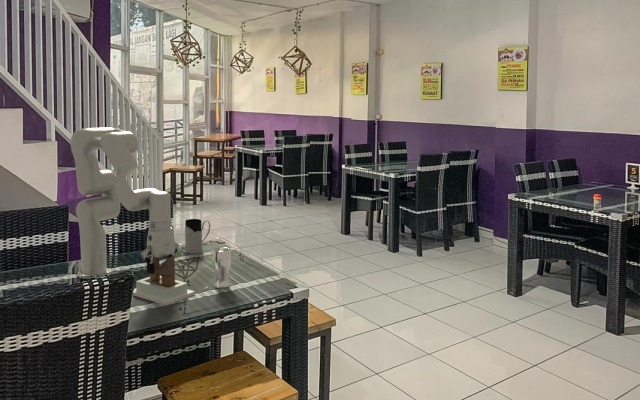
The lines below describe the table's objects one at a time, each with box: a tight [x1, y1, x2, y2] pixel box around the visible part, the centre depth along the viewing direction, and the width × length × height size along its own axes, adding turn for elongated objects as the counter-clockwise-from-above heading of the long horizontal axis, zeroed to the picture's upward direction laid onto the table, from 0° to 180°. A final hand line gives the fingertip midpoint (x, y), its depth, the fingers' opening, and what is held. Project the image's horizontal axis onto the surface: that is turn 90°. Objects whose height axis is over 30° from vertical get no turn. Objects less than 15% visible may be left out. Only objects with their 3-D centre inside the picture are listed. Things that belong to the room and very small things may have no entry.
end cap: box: [132, 275, 196, 306], centre depth 204 cm, size 20×14×5 cm
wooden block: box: [148, 256, 176, 288], centre depth 203 cm, size 4×11×18 cm, turn 60°
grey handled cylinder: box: [184, 218, 211, 254], centre depth 264 cm, size 9×14×15 cm, turn 140°
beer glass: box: [212, 246, 232, 289], centre depth 214 cm, size 7×7×15 cm
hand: (160, 269), depth 203 cm, fingers open, 9 cm apart
